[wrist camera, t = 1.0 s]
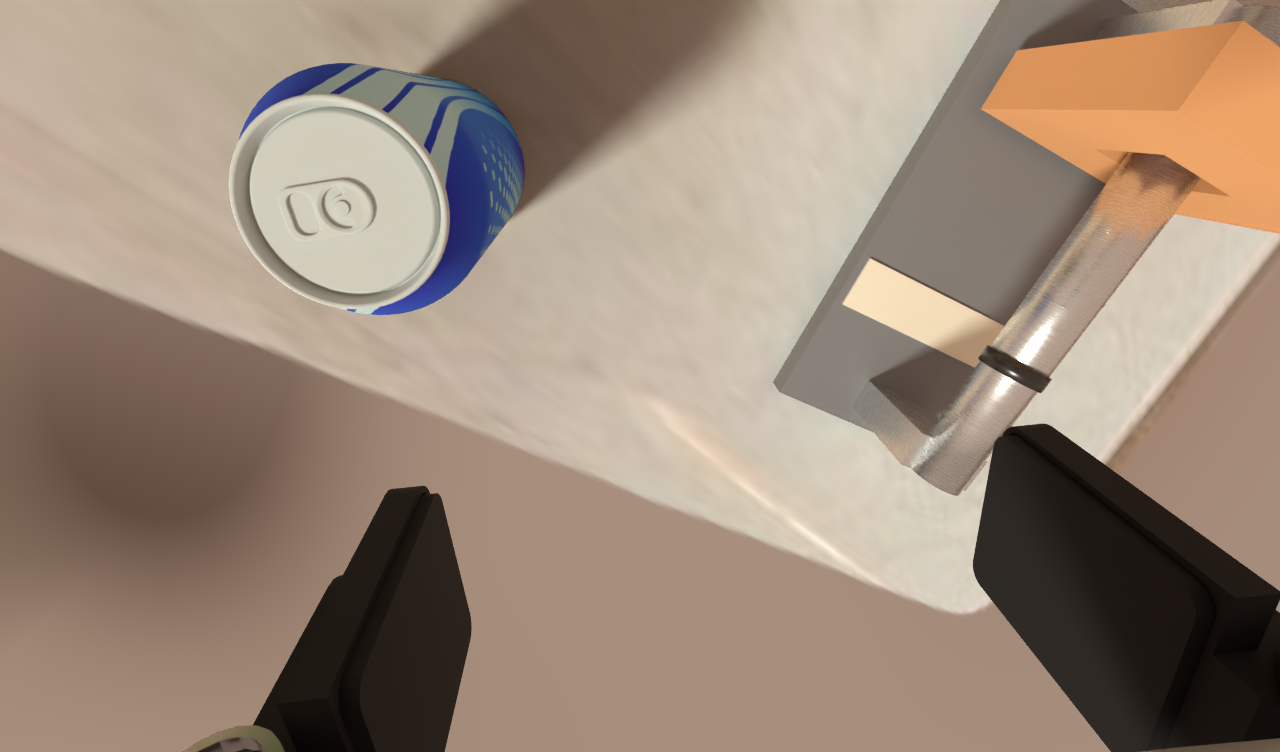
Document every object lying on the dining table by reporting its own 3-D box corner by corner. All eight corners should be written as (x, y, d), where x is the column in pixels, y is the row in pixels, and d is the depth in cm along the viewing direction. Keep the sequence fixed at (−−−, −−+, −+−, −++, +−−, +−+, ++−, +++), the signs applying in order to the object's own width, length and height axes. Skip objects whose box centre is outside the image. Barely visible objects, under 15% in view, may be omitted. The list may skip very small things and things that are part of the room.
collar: (1016, 50, 32) (1243, 20, 21) (1186, 157, 34) (1465, 182, 23) (980, 109, 33) (1177, 110, 22) (1147, 209, 35) (1399, 255, 24)
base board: (1027, -45, 32) (1048, -52, 31) (1217, 85, 35) (1245, 84, 34) (773, 382, 41) (780, 393, 39) (944, 456, 44) (957, 468, 42)
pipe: (1104, 18, 32) (1271, -10, 24) (1166, 60, 33) (1346, 46, 25) (851, 406, 40) (915, 480, 32) (907, 430, 41) (982, 508, 33)
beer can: (406, 45, 32) (246, -7, 17) (554, 136, 34) (523, 159, 19) (345, 192, 34) (160, 257, 20) (486, 268, 37) (413, 377, 22)
